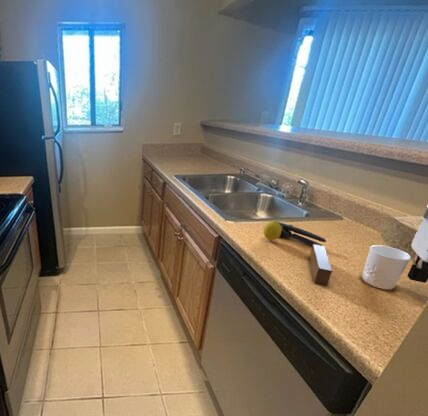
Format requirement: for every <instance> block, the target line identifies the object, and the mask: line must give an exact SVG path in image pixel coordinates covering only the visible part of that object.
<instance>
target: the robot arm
mask: <svg viewBox="0 0 428 416" xmlns="http://www.w3.org/2000/svg"><path fill="white" fill-rule="evenodd" d="M421 220H422V222H421V223H420V225H419V227H418V229H417V230H416V232H415V235H414V237H413V239H412V241H411V249H412V250H413V251H414V254H415V255H414V258H413V260H412V265H411V266H410V269H409V271H408V272H407V278H408V279H409V280H410V281H414V282H419V283H424V284H426V283H427V282H428V204H427V205H426V207H425V209H424V211H423V214H422V216H421Z"/></svg>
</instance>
